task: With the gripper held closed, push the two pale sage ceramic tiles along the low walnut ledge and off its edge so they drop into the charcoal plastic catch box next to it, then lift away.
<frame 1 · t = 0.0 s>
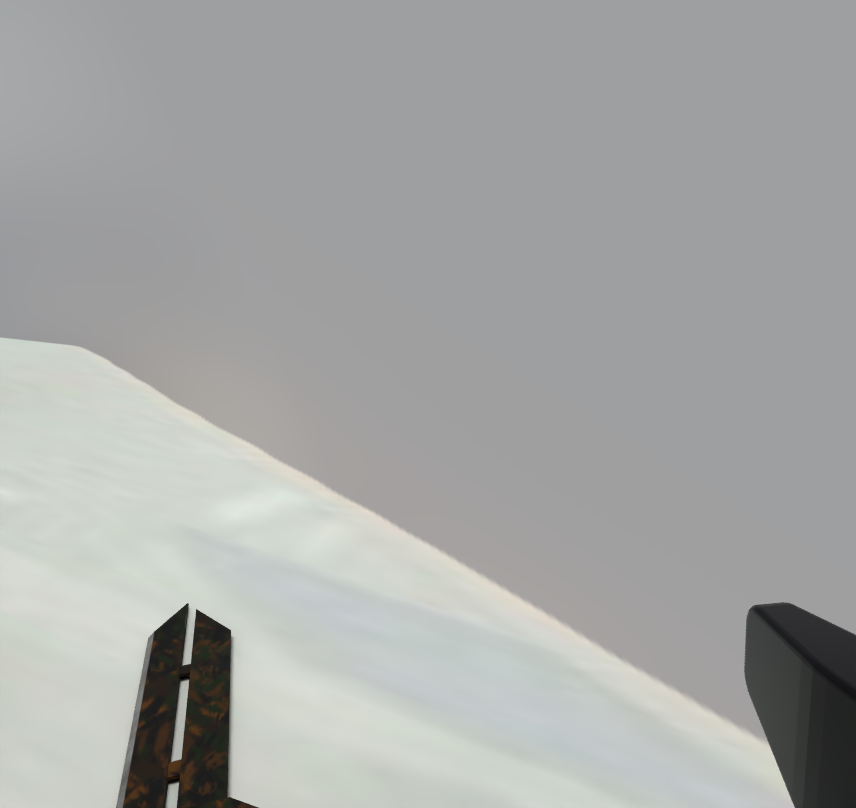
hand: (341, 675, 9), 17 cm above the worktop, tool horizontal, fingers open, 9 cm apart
knife: (168, 801, 30), on the worktop
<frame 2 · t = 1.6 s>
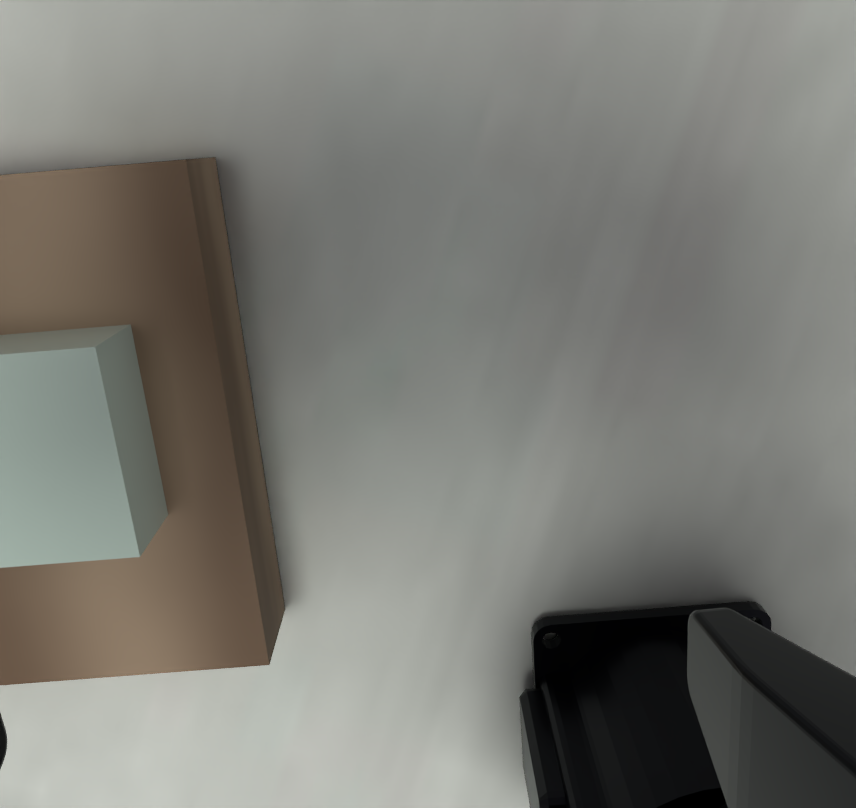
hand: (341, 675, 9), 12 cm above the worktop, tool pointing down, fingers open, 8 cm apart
walnut ledge: (19, 422, 21), on the worktop
tile 1: (50, 431, 18), point 2 cm above the worktop, touching walnut ledge
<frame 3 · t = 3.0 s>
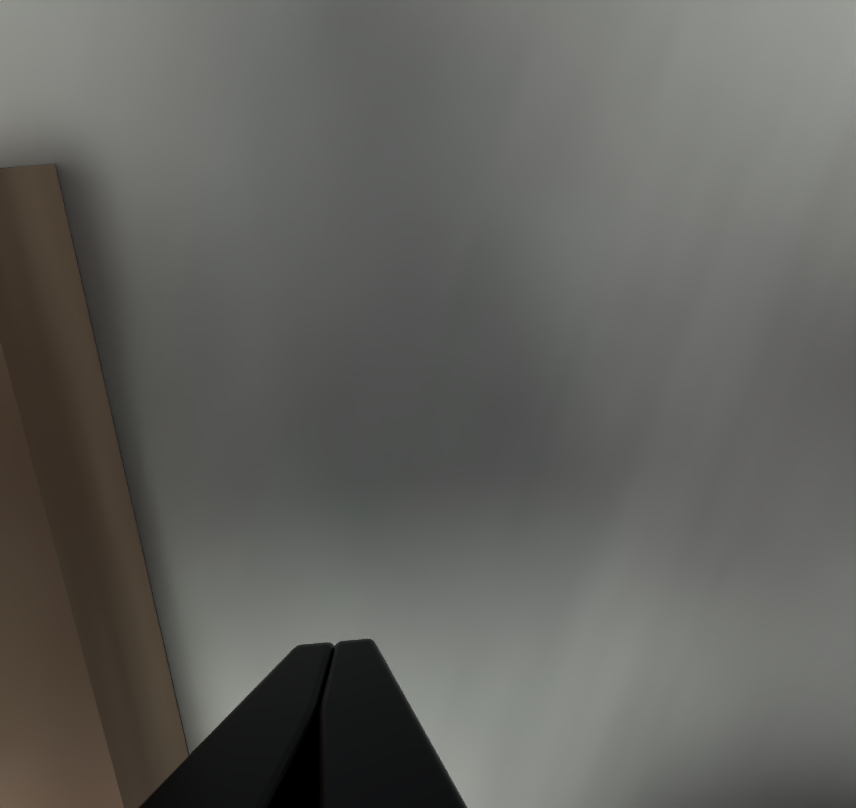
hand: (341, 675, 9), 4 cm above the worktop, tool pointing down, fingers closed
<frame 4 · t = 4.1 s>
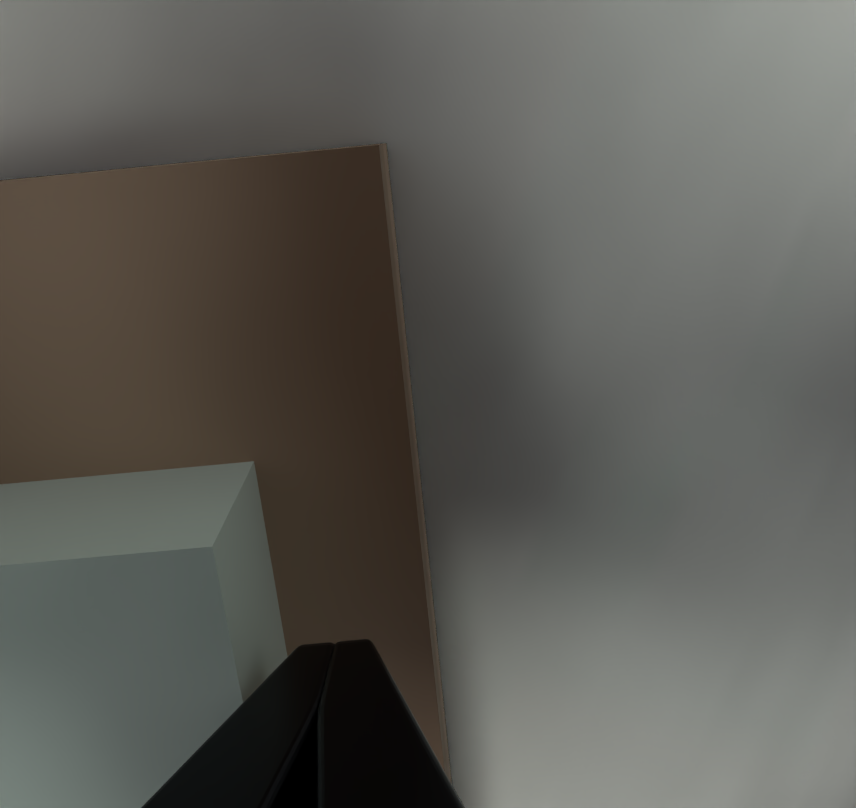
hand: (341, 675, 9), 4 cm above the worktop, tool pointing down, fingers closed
walnut ledge: (40, 588, 12), on the worktop
tile 1: (100, 647, 10), point 2 cm above the worktop, touching gripper, walnut ledge
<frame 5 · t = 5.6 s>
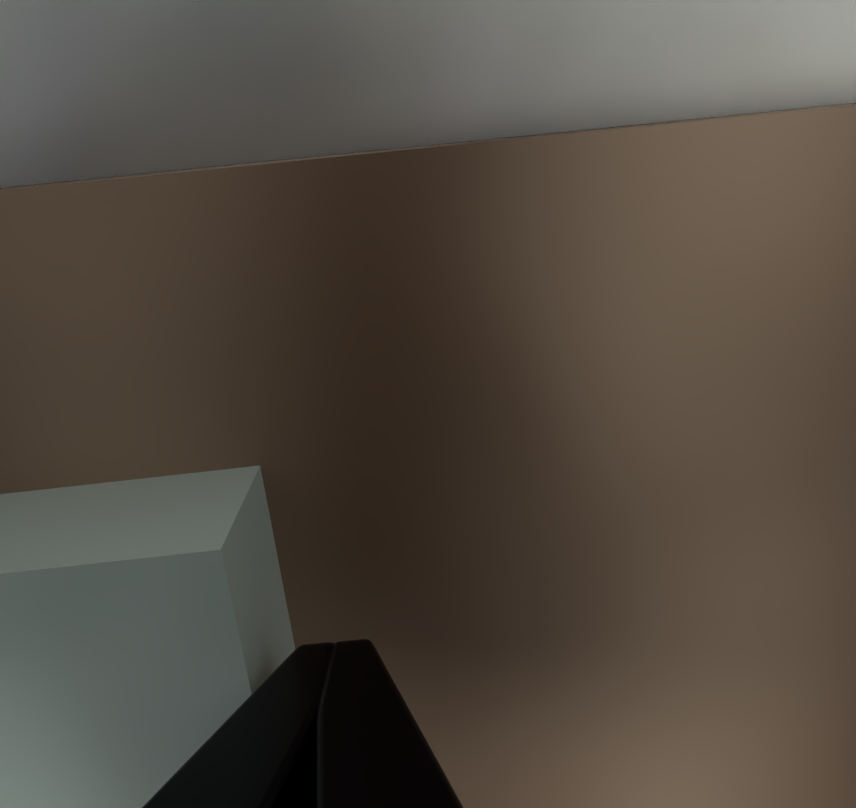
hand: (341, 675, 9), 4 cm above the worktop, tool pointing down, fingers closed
walnut ledge: (458, 551, 12), on the worktop
tile 1: (112, 652, 10), point 3 cm above the worktop, touching tile 2, gripper
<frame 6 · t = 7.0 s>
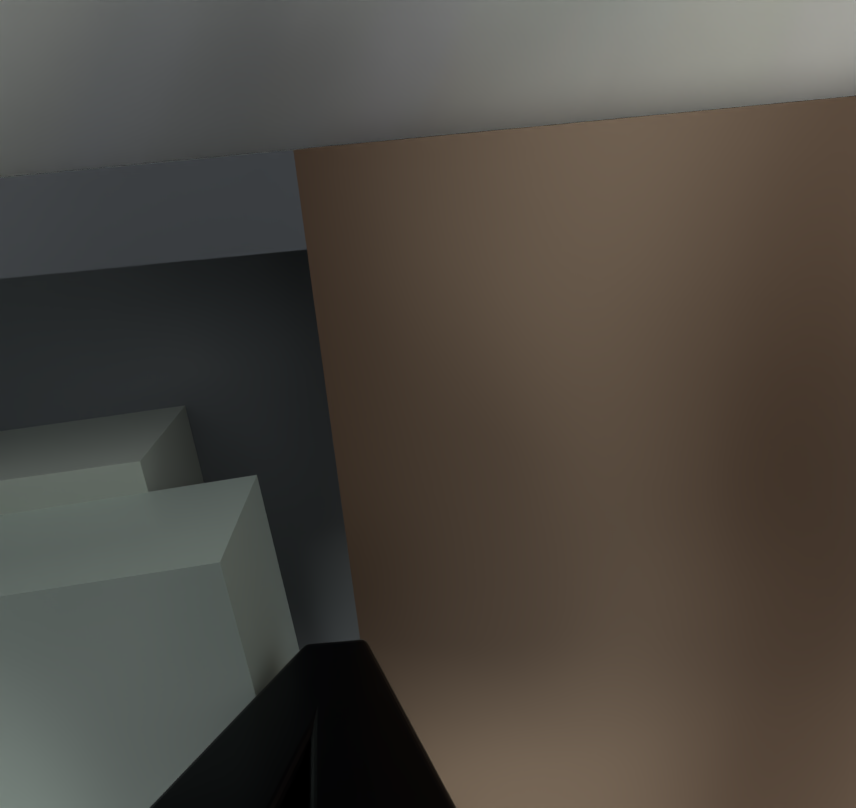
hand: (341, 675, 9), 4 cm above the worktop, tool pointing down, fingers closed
walnut ledge: (757, 517, 12), on the worktop
catch box: (110, 579, 12), on the worktop
tile 2: (68, 571, 12), resting on catch box, touching tile 1
tile 1: (118, 667, 10), point 2 cm above the worktop, touching tile 2, gripper
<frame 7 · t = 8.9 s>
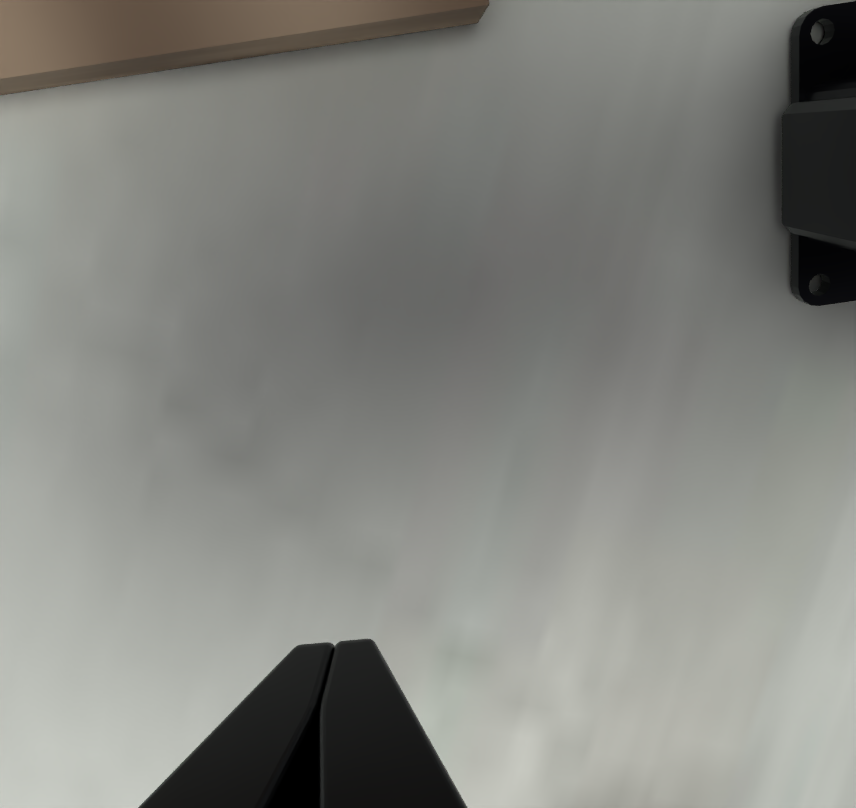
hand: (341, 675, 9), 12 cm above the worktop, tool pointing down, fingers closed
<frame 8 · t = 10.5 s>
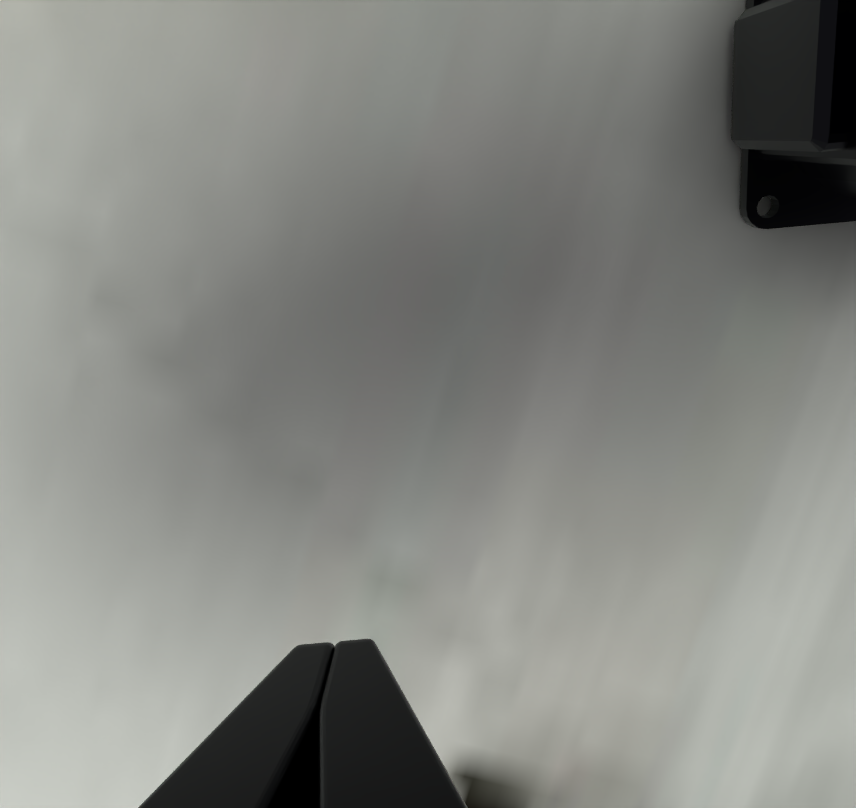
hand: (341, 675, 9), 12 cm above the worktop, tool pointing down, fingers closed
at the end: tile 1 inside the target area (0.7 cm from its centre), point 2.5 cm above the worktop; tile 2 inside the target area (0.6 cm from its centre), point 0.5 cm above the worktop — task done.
